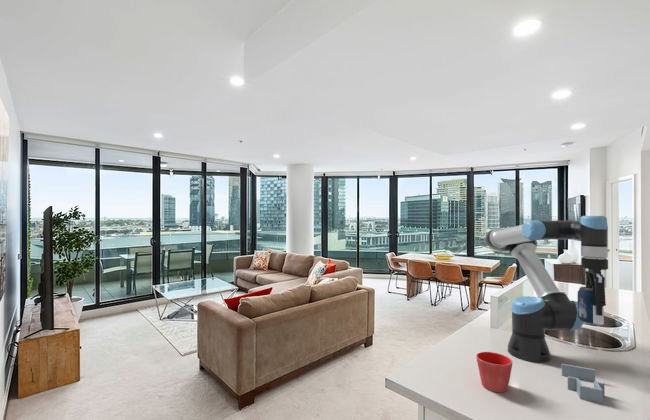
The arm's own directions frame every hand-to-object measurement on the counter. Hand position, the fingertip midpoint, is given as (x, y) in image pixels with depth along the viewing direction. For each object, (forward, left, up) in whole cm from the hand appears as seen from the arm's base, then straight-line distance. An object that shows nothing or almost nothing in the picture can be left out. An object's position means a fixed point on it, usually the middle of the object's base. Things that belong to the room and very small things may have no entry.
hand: (595, 320), depth 116 cm
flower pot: (-33, -25, -20) cm, 46 cm away
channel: (-6, -13, -20) cm, 24 cm away
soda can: (-2, 0, -1) cm, 2 cm away
